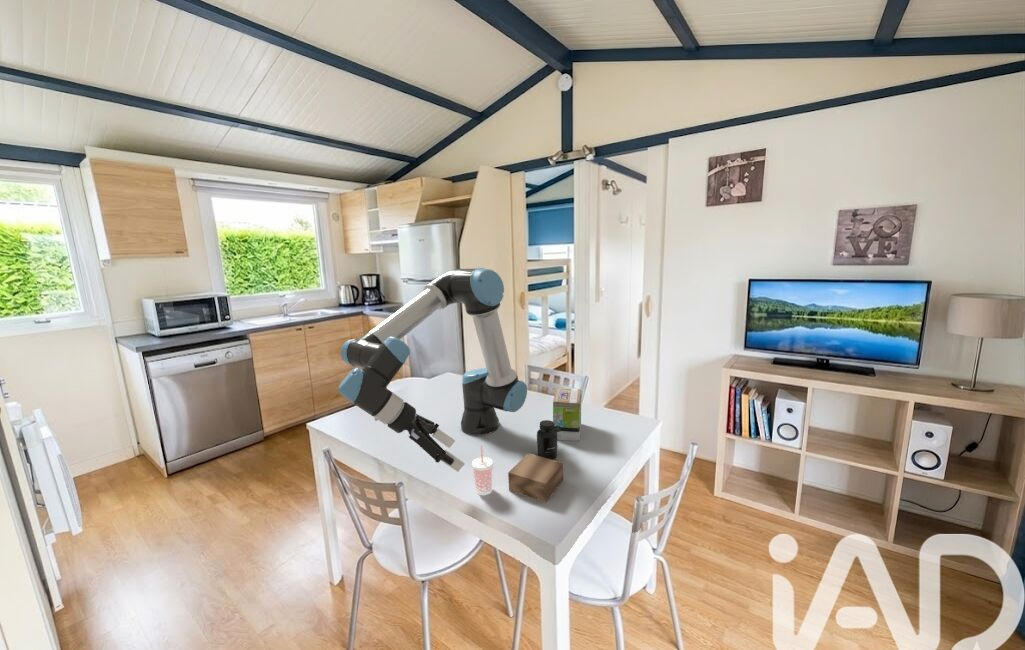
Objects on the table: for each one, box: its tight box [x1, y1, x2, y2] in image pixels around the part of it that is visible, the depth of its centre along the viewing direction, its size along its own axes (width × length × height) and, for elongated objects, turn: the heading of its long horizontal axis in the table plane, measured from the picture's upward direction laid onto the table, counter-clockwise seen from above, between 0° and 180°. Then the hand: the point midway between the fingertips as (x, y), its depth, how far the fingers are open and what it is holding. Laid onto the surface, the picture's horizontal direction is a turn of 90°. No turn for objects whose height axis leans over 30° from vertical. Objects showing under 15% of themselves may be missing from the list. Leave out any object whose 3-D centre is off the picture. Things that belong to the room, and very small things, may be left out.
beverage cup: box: [471, 445, 494, 496], centre depth 113 cm, size 6×6×14 cm
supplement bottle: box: [536, 419, 558, 460], centre depth 131 cm, size 7×7×12 cm
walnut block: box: [507, 453, 565, 503], centre depth 116 cm, size 12×12×6 cm
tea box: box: [552, 387, 582, 441], centre depth 148 cm, size 15×10×15 cm, turn 168°
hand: (456, 455), depth 109 cm, fingers open, 13 cm apart
